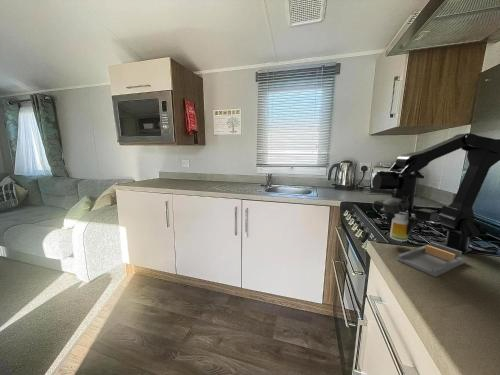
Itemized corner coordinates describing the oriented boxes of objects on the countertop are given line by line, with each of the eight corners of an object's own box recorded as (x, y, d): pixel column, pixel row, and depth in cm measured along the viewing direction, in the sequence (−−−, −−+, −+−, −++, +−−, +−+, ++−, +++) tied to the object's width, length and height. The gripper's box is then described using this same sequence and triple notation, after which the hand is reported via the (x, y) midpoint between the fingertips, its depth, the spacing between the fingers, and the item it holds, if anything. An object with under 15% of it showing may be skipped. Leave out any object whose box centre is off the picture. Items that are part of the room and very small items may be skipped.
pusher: (426, 251, 71) (427, 244, 71) (454, 261, 65) (455, 254, 64) (424, 252, 71) (425, 245, 70) (452, 262, 64) (453, 254, 64)
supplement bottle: (410, 242, 73) (414, 216, 71) (393, 240, 74) (397, 215, 72) (402, 236, 78) (406, 211, 76) (387, 235, 79) (390, 210, 77)
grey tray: (426, 249, 74) (428, 240, 73) (464, 262, 65) (466, 253, 65) (397, 260, 66) (398, 250, 66) (435, 276, 57) (437, 265, 57)
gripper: (365, 187, 78) (361, 226, 80) (423, 197, 61) (416, 246, 64) (383, 186, 82) (379, 223, 85) (442, 194, 66) (434, 240, 68)
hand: (399, 231), depth 75 cm, fingers closed on supplement bottle, 5 cm apart
